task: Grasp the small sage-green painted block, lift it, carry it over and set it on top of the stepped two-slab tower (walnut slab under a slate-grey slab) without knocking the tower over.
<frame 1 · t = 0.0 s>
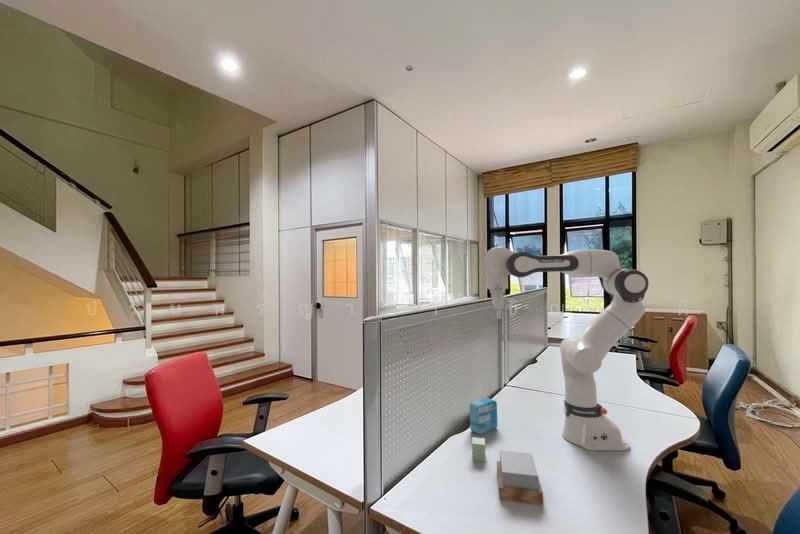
hand: (498, 317, 138), 48 cm above the table, fingers open, 8 cm apart
tower base: (518, 488, 101), on the table, touching tower top
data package: (484, 430, 138), on the table
tower top: (518, 475, 101), point 3 cm above the table, touching tower base
sage block: (479, 457, 117), on the table
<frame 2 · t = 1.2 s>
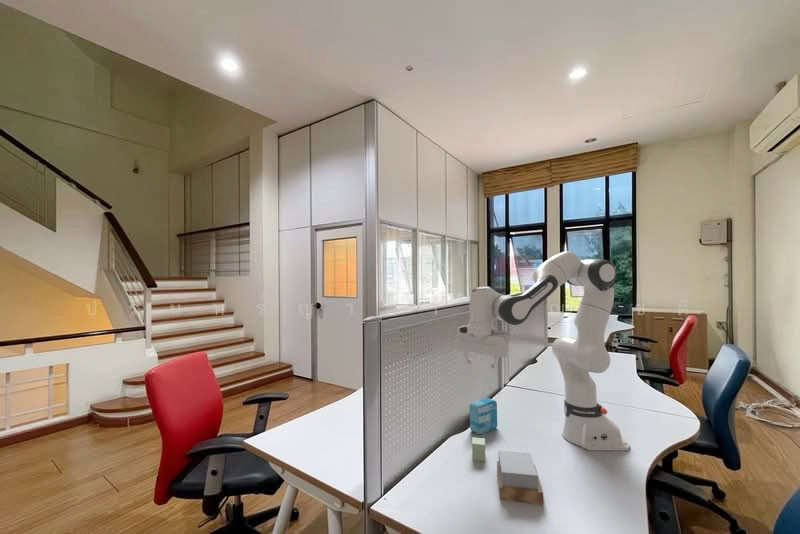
hand: (481, 365, 123), 32 cm above the table, fingers open, 8 cm apart
nothing on the table moved.
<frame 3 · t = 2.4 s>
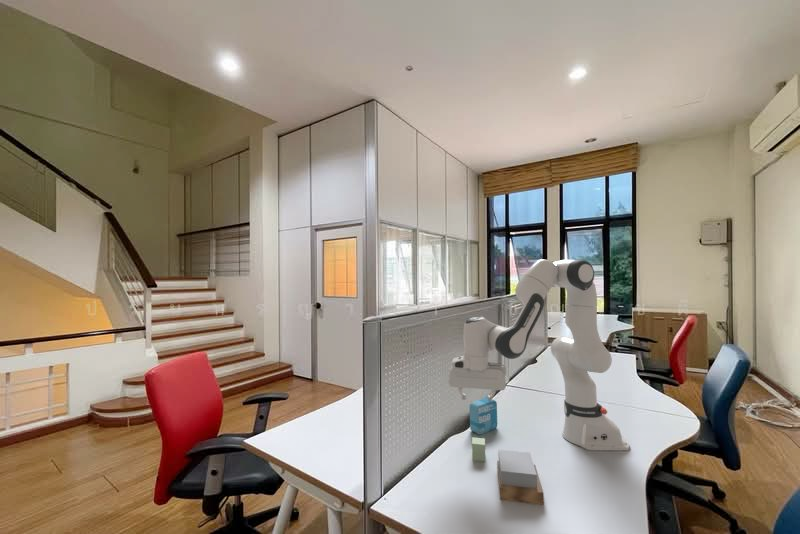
hand: (476, 400, 118), 21 cm above the table, fingers open, 8 cm apart
nothing on the table moved.
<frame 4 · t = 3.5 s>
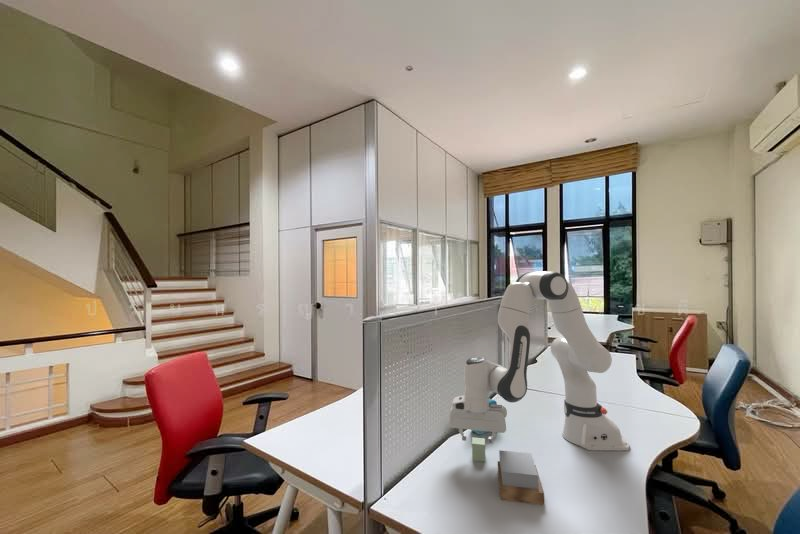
hand: (477, 441, 118), 6 cm above the table, fingers open, 8 cm apart
nothing on the table moved.
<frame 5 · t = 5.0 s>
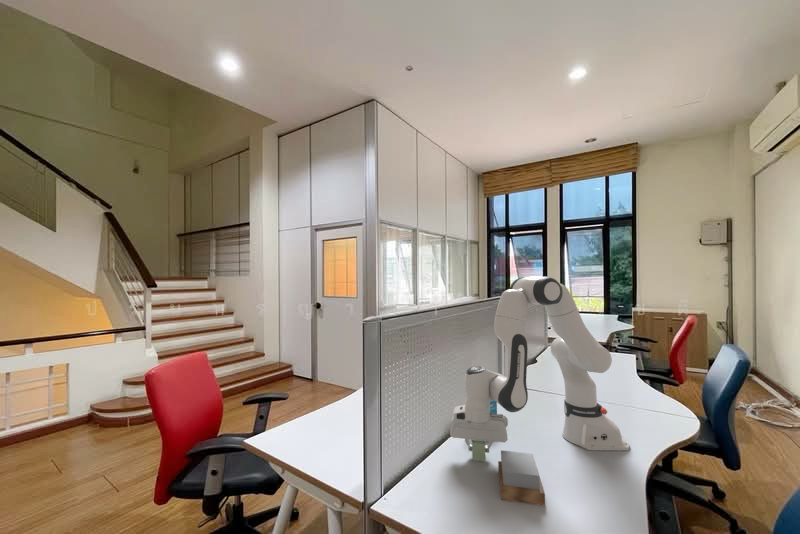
hand: (478, 451, 118), 2 cm above the table, fingers closed on sage block, 4 cm apart
sage block: (479, 457, 117), on the table, touching gripper
everything else where it was.
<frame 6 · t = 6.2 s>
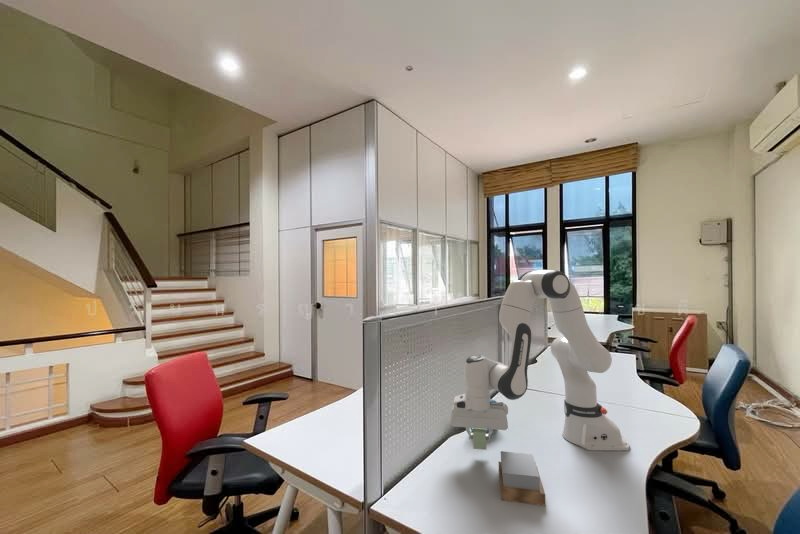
hand: (479, 439, 118), 6 cm above the table, fingers closed on sage block, 4 cm apart
sage block: (479, 445, 118), point 4 cm above the table, touching gripper
everything else where it was.
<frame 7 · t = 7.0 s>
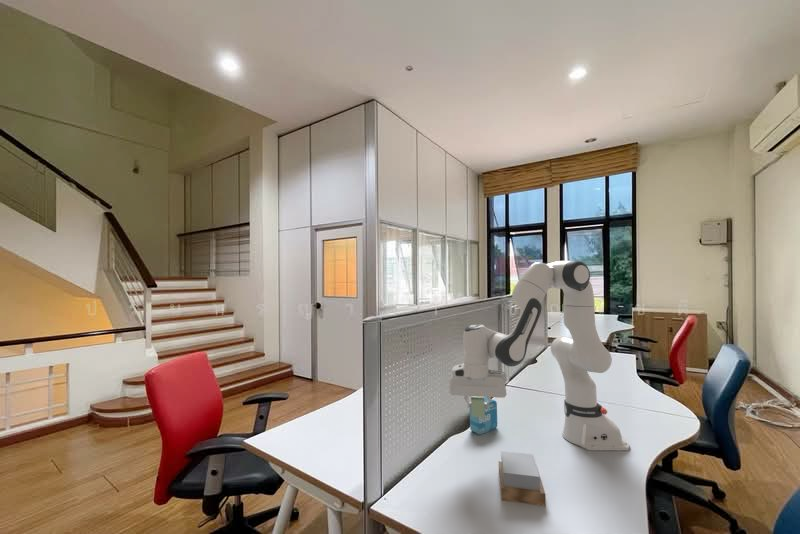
hand: (478, 407, 118), 18 cm above the table, fingers closed on sage block, 4 cm apart
sage block: (478, 414, 118), point 15 cm above the table, touching gripper
everything else where it was.
when the fingers open (11 cm above the table, at t = 12.3 s): sage block drops 2 cm, point 7 cm above the table.
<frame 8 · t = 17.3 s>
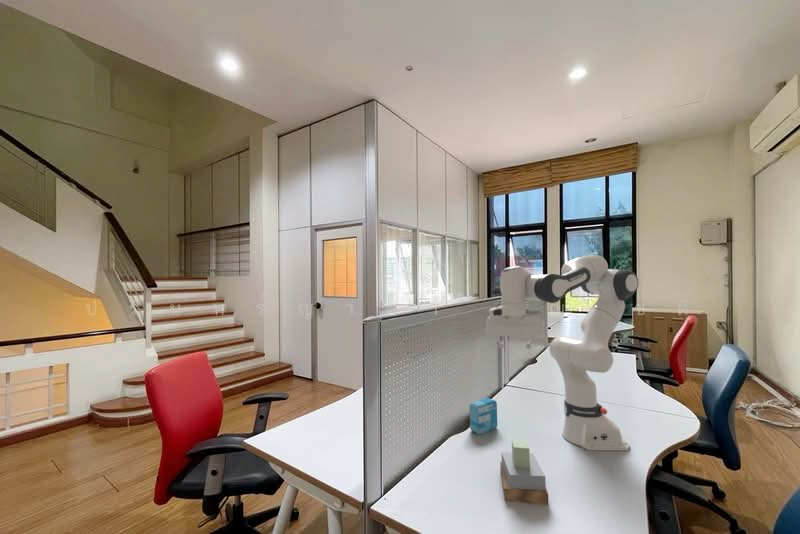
hand: (514, 347, 119), 39 cm above the table, fingers open, 8 cm apart
sage block: (520, 463, 101), point 7 cm above the table
at the end: sage block 0.2 cm off-centre on the tower top, point 4.0 cm above the tower top's base; sage block tilted 0°; tower top moved 1.3 cm from its start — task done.
